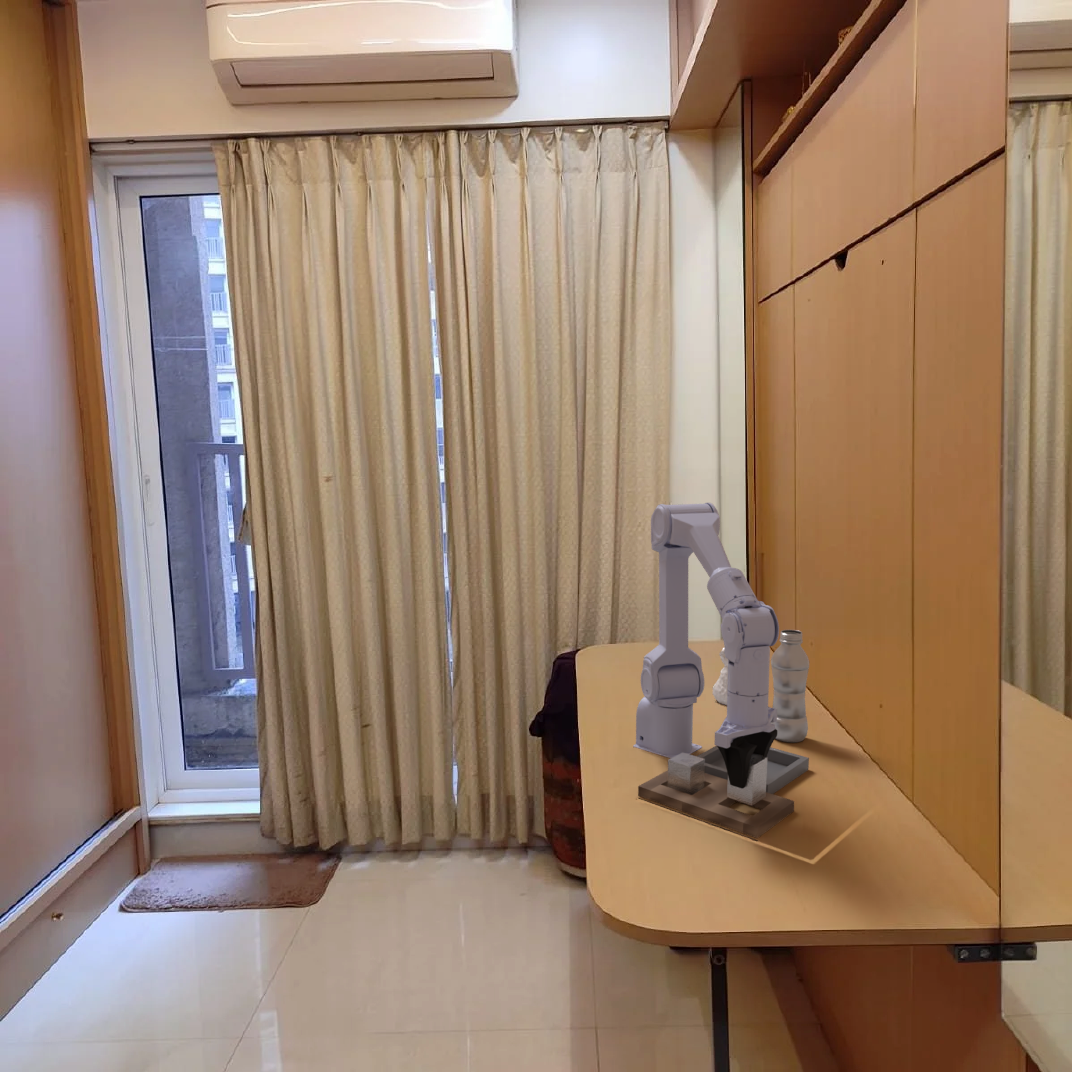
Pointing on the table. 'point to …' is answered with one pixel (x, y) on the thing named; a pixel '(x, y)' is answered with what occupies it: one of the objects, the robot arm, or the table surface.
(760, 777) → the block
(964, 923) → the table surface
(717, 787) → the wooden board with recesses
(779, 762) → the tray
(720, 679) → the sitting furry creature
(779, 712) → the plastic bottle
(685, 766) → the block
